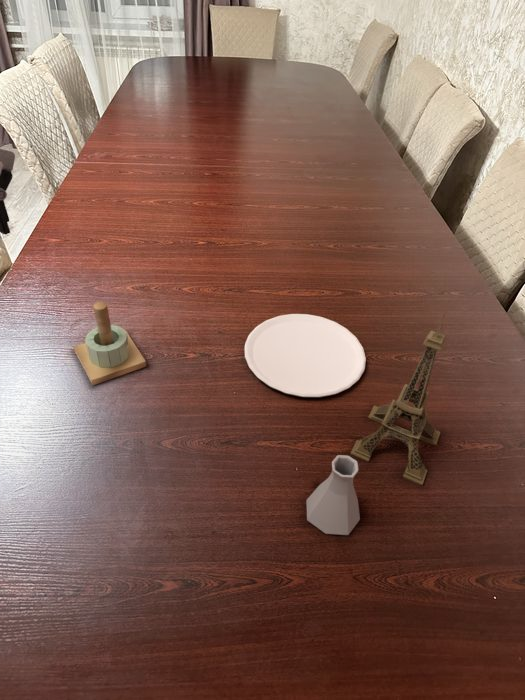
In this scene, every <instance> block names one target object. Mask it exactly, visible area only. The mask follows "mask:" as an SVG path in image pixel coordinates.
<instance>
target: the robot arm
mask: <svg viewBox="0 0 525 700" xmlns="http://www.w3.org/2000/svg"><path fill="white" fill-rule="evenodd" d="M15 159H16V153H14V151H12V150H9V149H8V148H5V147H1V146H0V234H2V235H5V236H6V235H9V234H11V230H10V226H9V222H10V217H9V214H8V210H7V207H6V203H5V200H6V199H7V198H8V193H7V190H8V187H9V186H10V184H11V182H12V180H13V176H14V175H13V173H12V171H13V170H14V164H15V161H16V160H15Z"/></svg>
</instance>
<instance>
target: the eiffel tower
mask: <svg viewBox="0 0 525 700" xmlns="http://www.w3.org/2000/svg"><path fill="white" fill-rule="evenodd" d="M446 313H447V310H445V311H444V313H443V317H442V319H441V321H440V323H439V326H438V328H437V330H436V331H434V330H430V331H429V333H428V334H427V335H426V337H425V339H424V342H423V343H422V345H423V346H426V348H425V350H424V352H423V354H422V356H421V358H420V360H419V361H418V364H417V366H416V368H415V370H414V372H413V375H412V376H411V379H410V381H409V383H408V384H407V383H405V384H404V386H402V389H401V392H400V394H399V396H398V398H397V399H396V400H395V399H394V398H393V399H392V401H391V402H390V404H382V405H379V406H377V405H375V404H374V405H373V407H372V408H371V410H370V413H369V414H368V416H367V419H369V420H370V421H371V420H372V421H374V422H376V423H379V424H380V426H379V428H378V429H377V430H376V431H375V432H373V433H371V434H369V435H367V436H365V437H362V438H361V439H356V440H355V443H354V445H353V447H352V449H351V451H350V453H349V454H350V455H351V456H353V457H355V458H358V459H360V460H363V461H364V462H367V463H369V462H370V459H371V457H372V455H373V453H374V450H375V448H376V447H377V446H378V444H380V442H381V441H382V440H383V439H384V438H390V439H396V440H398V441H400V442H401V443H403V444H404V445H405V446H406V447H408V451H407V452H408V453H407V465H406V468H405V470H404V472H403V475H402V478H403V479H405V480H408V481H409V482H412V483H414V484H416V485H419V486H421V487H422V486H423V484H424V482H425V479H426V476H427V473H428V469H427V468H426V467H425V464H424V461H423V458H422V456H421V454H420V451H419V440H420V441H422V442H425V443H427V444H428V445H429V444H430V445H432V446H434V447H436V446H437V444H438V441H439V438H440V436H441V431H439V430H436V427H435V426H434V425H433V423H431V421H430V420H429V418H428V417H429V415H430V413H429V412H426V408H425V407H426V405H427V402H428V400H429V397H430V392H429V391H427V389H428V385H429V383H430V379H431V374H432V371H433V367H434V363H435V359H436V356H437V352H438V351H440V352H441V351H442V349H443V347H444V344H445V342H446V340H445V337H446V335H445V334H442V333H440V331H441V328H442V325H443V322H444V319H445V316H446ZM419 380H420V381H419ZM418 382H419V384H418ZM417 384H418V388H416V387H417ZM409 402H410V403H412V404H413V406H410V405H408V403H409ZM398 419H404V420H405V421H409V423H410V430H409V429H405V428H403V427H401V426H399V425H396V424H394V423H395V422H396V421H397V420H398Z"/></svg>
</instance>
